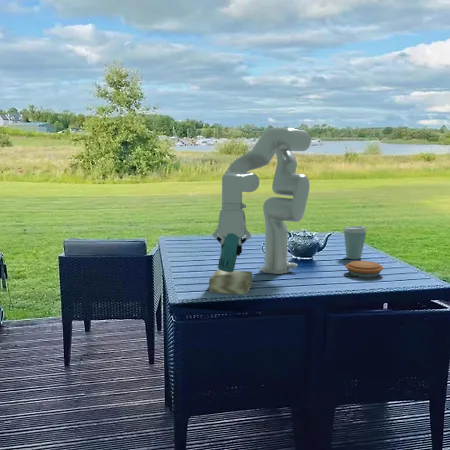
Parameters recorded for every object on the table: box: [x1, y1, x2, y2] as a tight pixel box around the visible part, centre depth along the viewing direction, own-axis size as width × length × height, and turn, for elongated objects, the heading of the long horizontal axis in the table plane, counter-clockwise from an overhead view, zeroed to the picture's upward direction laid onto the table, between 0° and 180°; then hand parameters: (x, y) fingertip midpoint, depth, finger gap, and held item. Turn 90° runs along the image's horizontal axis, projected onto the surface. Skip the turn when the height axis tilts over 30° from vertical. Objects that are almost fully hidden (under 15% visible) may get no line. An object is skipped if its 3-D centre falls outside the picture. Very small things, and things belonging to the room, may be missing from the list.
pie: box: [344, 260, 384, 278], centre depth 233 cm, size 16×16×5 cm
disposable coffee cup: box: [343, 225, 367, 260], centre depth 263 cm, size 11×11×15 cm
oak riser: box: [208, 269, 253, 295], centre depth 212 cm, size 14×14×5 cm
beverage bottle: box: [217, 233, 239, 272], centre depth 209 cm, size 6×7×20 cm
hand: (231, 254), depth 210 cm, fingers open, 4 cm apart
